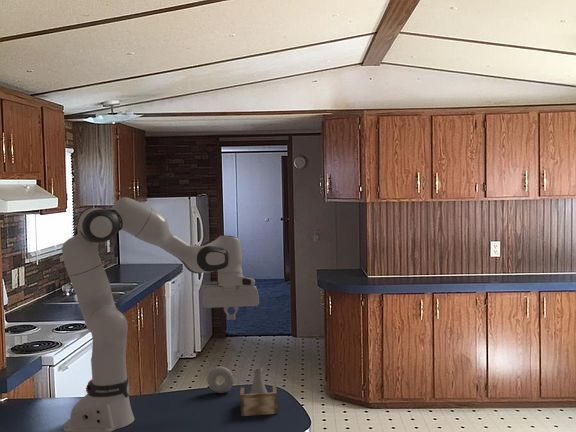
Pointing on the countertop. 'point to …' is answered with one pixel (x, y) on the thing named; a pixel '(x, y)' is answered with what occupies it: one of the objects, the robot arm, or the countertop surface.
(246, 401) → the wooden arch bench
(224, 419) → the countertop surface
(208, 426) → the countertop surface
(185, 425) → the countertop surface
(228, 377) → the donut
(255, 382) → the flask
